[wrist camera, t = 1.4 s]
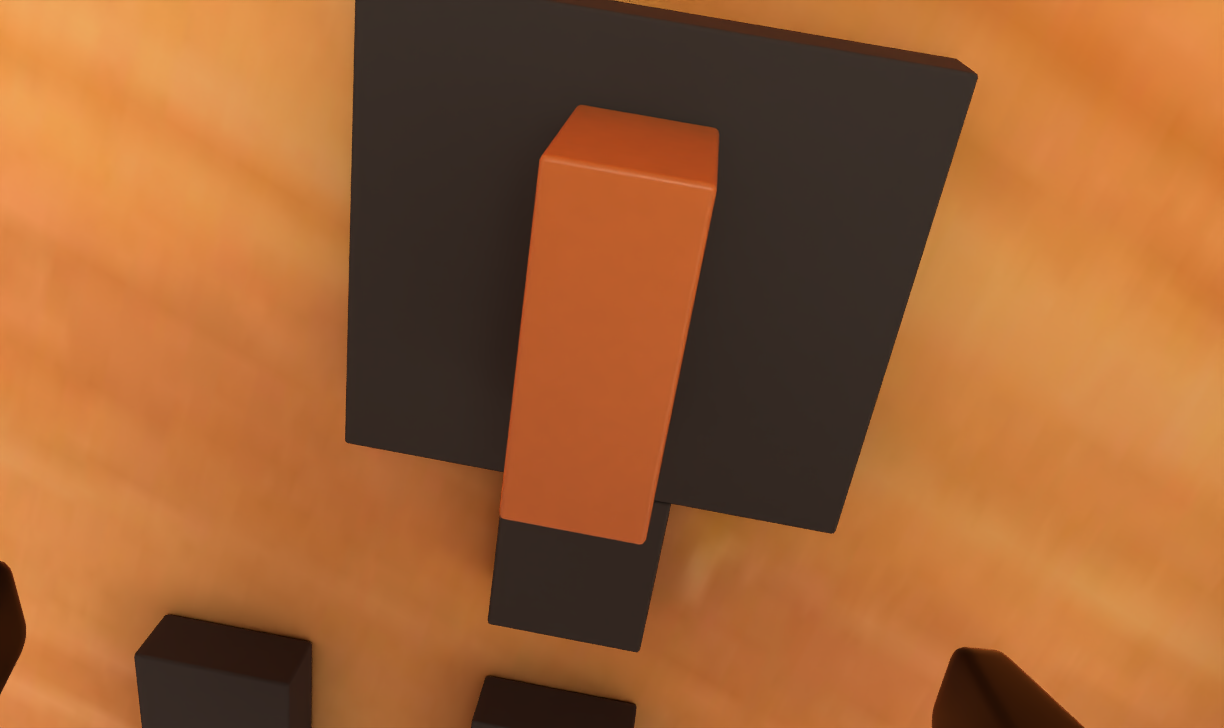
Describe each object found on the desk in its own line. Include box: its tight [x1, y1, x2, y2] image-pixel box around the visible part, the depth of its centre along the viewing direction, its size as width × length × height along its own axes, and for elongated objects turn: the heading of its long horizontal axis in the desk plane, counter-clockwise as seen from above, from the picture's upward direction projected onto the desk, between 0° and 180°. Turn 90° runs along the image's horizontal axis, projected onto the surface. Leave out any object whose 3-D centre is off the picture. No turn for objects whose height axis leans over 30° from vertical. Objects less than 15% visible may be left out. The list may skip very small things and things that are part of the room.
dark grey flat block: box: [345, 0, 978, 652], centre depth 17 cm, size 10×13×5 cm
